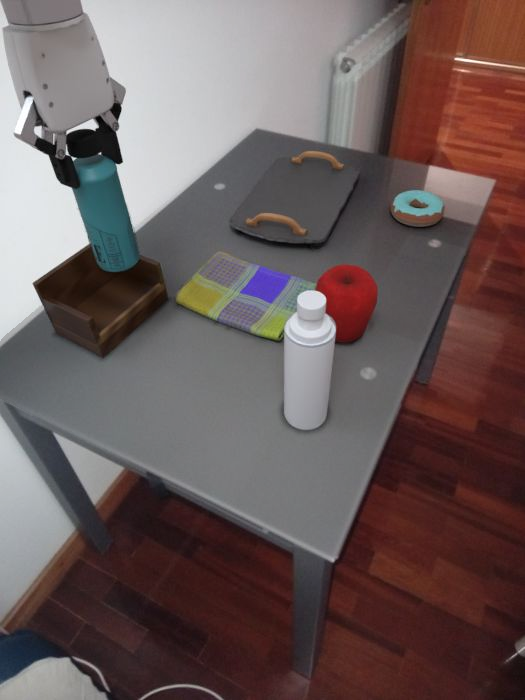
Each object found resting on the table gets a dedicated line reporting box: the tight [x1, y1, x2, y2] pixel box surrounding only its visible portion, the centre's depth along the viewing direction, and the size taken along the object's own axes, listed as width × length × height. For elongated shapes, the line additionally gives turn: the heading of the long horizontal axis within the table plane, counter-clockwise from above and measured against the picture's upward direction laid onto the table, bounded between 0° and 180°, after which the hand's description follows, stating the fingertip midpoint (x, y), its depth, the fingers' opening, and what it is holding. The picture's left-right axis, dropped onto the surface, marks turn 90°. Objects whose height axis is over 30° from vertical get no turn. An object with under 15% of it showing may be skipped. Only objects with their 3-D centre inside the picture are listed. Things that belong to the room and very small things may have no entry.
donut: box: [390, 189, 445, 228], centre depth 112 cm, size 12×12×4 cm
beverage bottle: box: [66, 128, 141, 272], centre depth 66 cm, size 6×7×20 cm
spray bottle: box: [283, 290, 336, 431], centre depth 68 cm, size 7×7×25 cm
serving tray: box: [228, 150, 361, 250], centre depth 116 cm, size 39×23×6 cm, turn 159°
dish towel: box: [174, 250, 317, 342], centre depth 95 cm, size 18×24×3 cm
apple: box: [315, 263, 379, 343], centre depth 84 cm, size 11×10×14 cm
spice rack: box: [32, 243, 169, 359], centre depth 89 cm, size 18×12×12 cm, turn 148°
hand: (92, 172), depth 62 cm, fingers closed on beverage bottle, 6 cm apart
